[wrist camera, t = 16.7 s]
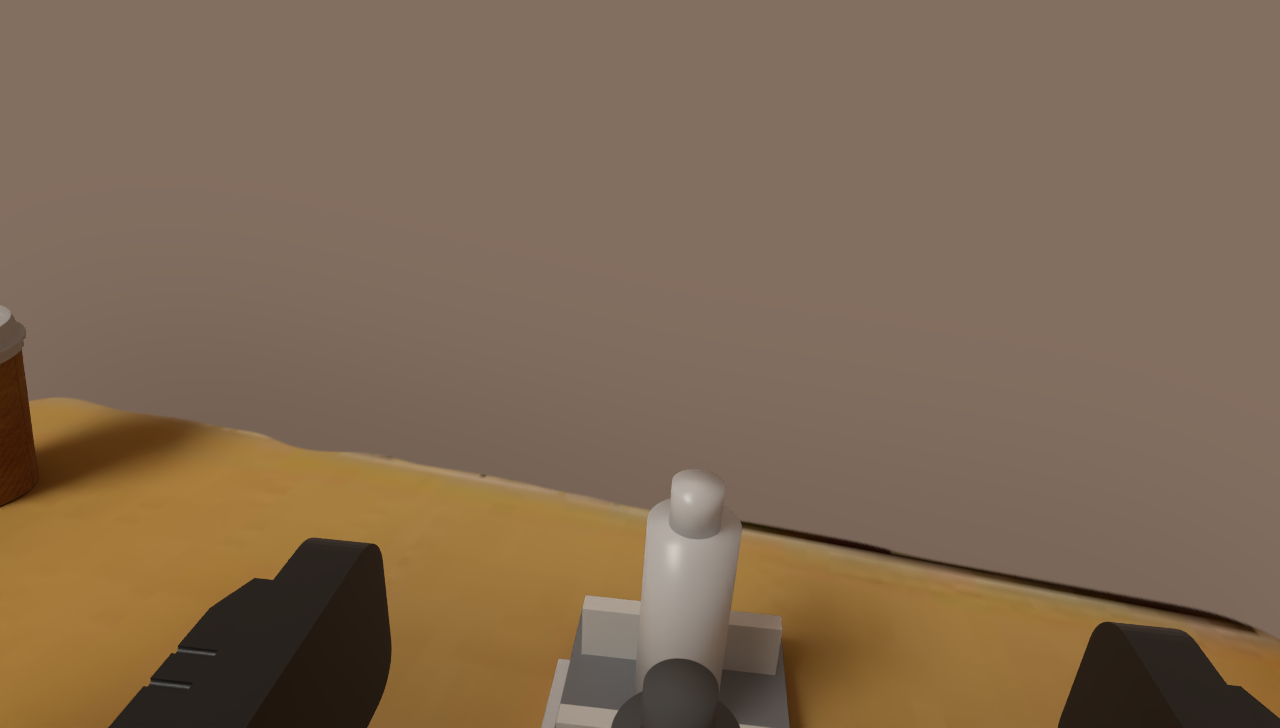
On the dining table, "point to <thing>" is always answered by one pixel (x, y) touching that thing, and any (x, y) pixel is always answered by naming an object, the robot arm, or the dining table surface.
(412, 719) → the dining table surface
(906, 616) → the dining table surface
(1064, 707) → the robot arm
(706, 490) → the white bottle
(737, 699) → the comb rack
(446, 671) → the dining table surface
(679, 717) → the dark grey bottle
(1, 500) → the disposable coffee cup
